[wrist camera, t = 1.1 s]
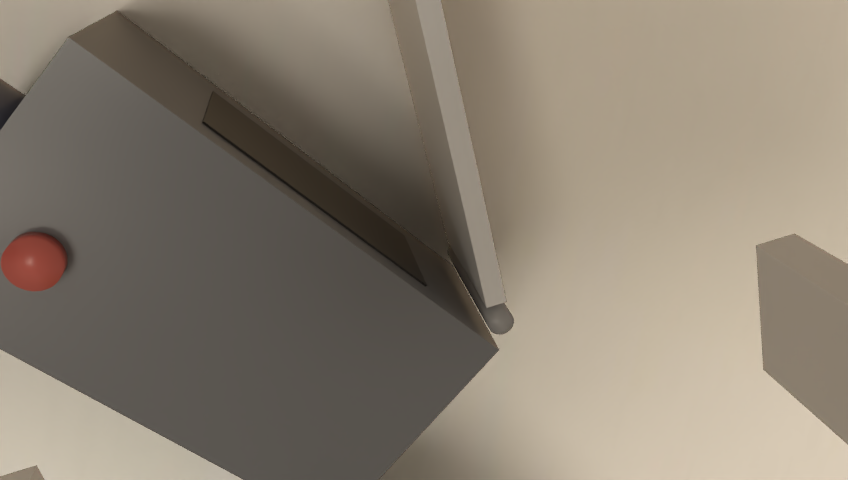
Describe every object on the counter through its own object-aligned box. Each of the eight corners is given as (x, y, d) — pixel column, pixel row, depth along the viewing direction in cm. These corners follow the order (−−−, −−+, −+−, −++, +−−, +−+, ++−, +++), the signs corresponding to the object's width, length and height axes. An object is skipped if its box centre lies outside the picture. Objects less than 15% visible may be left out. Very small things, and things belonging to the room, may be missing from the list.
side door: (480, 254, 36) (528, 326, 30) (450, 263, 36) (491, 337, 29) (408, -64, 30) (447, -62, 24) (371, -54, 30) (401, -50, 24)
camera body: (-60, 183, 31) (-171, 270, 23) (85, -16, 29) (18, 4, 21) (320, 413, 38) (334, 538, 30) (453, 264, 36) (505, 356, 29)
